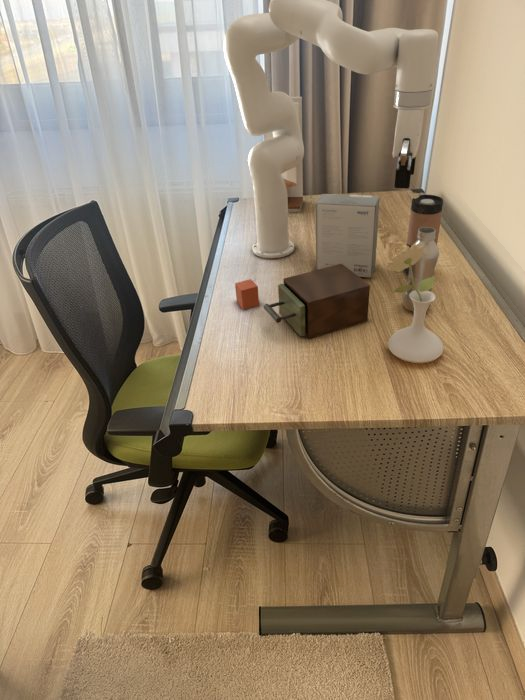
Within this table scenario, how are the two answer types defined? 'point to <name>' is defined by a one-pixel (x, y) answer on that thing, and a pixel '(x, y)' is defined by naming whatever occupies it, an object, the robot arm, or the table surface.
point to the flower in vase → (415, 314)
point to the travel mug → (424, 217)
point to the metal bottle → (422, 263)
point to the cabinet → (331, 298)
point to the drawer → (289, 309)
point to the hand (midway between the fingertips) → (404, 180)
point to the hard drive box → (347, 232)
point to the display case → (293, 170)
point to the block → (247, 294)
